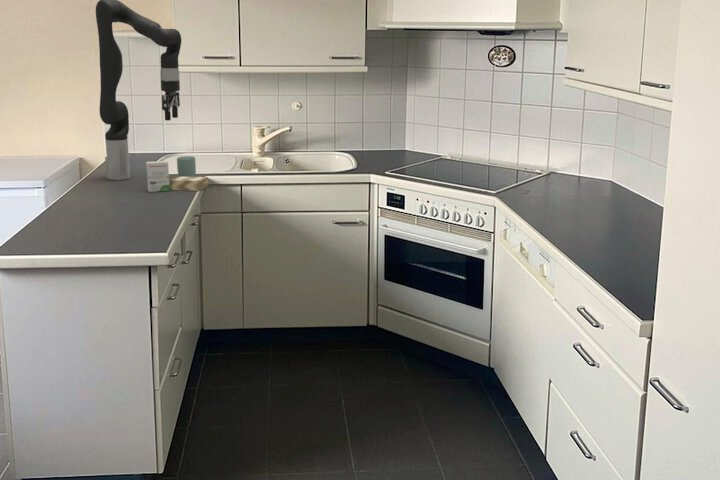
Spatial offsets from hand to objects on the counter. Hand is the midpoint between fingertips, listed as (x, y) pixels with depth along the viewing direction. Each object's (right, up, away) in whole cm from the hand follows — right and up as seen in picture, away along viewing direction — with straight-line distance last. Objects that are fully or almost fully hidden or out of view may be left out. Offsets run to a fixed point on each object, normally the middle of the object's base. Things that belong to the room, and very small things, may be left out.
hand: (171, 119), depth 353 cm
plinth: (+8, -29, 0) cm, 30 cm away
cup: (+3, -24, +16) cm, 30 cm away
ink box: (-4, -30, -4) cm, 30 cm away
